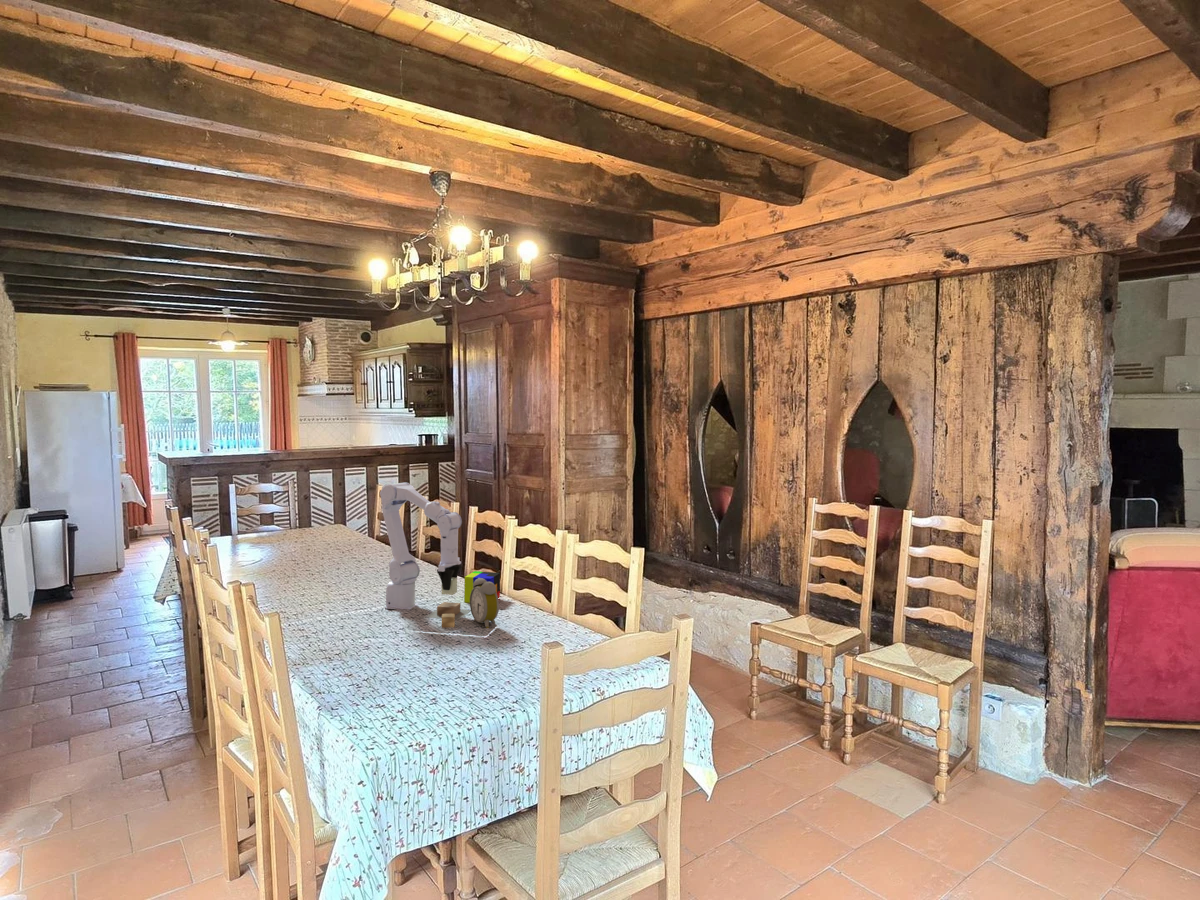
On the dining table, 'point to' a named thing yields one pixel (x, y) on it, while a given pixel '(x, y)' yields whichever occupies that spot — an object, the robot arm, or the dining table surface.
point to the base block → (448, 608)
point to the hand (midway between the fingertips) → (449, 588)
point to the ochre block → (448, 620)
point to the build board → (457, 617)
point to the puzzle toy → (487, 576)
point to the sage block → (451, 587)
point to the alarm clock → (484, 601)
